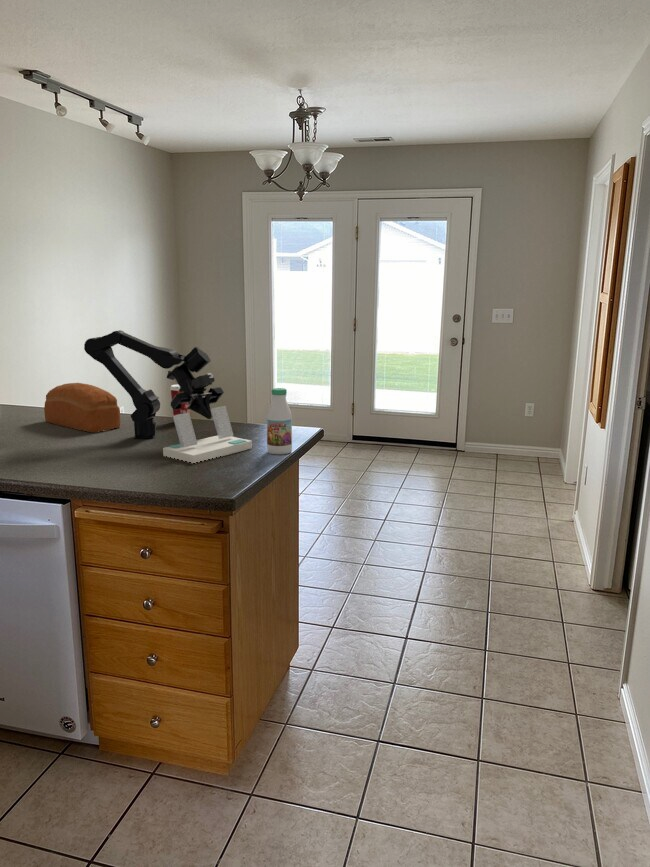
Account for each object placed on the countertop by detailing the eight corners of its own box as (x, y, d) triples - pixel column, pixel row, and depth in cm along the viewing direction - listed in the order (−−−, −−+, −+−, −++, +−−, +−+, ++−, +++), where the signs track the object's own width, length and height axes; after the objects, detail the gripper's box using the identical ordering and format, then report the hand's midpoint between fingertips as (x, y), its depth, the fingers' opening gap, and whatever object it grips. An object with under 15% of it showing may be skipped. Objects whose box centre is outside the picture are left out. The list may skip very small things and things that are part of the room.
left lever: (181, 448, 196) (172, 416, 196) (194, 445, 200) (185, 413, 200) (184, 447, 195) (175, 414, 195) (197, 444, 199) (189, 412, 199)
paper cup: (187, 424, 244) (185, 387, 240) (168, 423, 245) (166, 386, 242) (195, 420, 251) (194, 384, 248) (176, 419, 252) (175, 383, 249)
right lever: (218, 439, 207) (210, 409, 207) (230, 436, 211) (222, 406, 211) (222, 438, 206) (213, 407, 206) (233, 435, 210) (225, 405, 210)
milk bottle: (267, 449, 208) (266, 387, 203) (291, 448, 208) (291, 386, 204) (267, 455, 200) (266, 390, 196) (292, 455, 201) (292, 390, 196)
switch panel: (163, 455, 199) (162, 446, 198) (222, 441, 217) (221, 433, 217) (193, 463, 190) (193, 454, 190) (252, 448, 209) (251, 439, 208)
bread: (91, 434, 227) (87, 390, 224) (41, 422, 247) (38, 381, 244) (125, 428, 238) (122, 385, 235) (75, 416, 258) (71, 377, 254)
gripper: (174, 368, 205) (199, 407, 200) (218, 363, 219) (243, 399, 215) (160, 390, 211) (183, 428, 207) (204, 384, 225) (227, 419, 221)
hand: (210, 418), depth 212 cm, fingers closed
